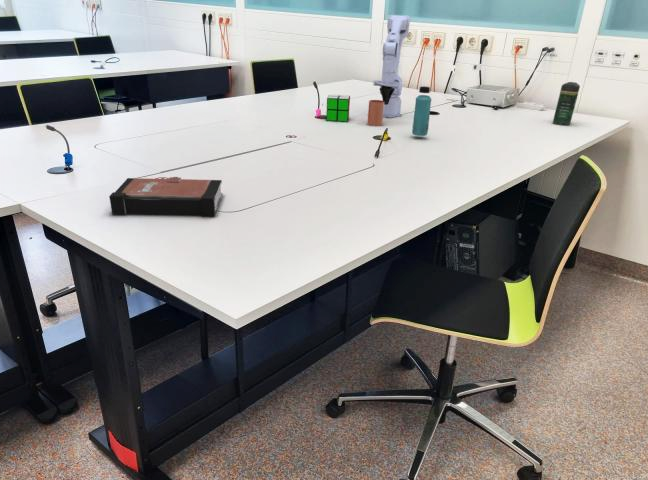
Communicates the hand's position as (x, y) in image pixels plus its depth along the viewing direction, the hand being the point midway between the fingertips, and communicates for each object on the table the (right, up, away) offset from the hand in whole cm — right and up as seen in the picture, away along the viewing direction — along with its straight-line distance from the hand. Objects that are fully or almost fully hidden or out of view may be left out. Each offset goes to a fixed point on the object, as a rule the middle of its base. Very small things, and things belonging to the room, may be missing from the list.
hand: (385, 104), depth 246 cm
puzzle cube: (-22, -5, +7) cm, 23 cm away
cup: (-5, -9, -1) cm, 11 cm away
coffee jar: (+86, -4, +15) cm, 88 cm away
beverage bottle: (+11, -22, -21) cm, 32 cm away
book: (-71, -63, -98) cm, 136 cm away
